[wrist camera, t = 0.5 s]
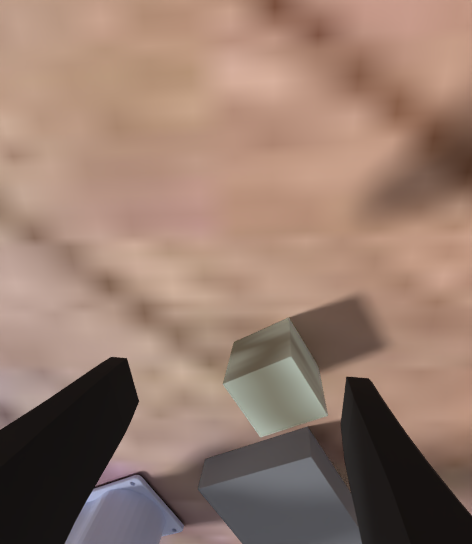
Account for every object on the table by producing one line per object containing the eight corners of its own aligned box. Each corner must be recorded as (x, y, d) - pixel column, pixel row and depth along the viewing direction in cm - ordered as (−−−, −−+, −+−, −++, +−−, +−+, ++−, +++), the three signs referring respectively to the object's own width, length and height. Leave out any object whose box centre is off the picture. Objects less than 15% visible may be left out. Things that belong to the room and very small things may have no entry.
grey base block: (261, 524, 28) (259, 563, 25) (206, 454, 26) (197, 488, 23) (359, 502, 25) (369, 544, 22) (307, 421, 23) (310, 456, 20)
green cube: (264, 386, 22) (260, 437, 18) (234, 341, 21) (222, 384, 17) (318, 365, 21) (327, 415, 17) (288, 316, 20) (291, 356, 16)
